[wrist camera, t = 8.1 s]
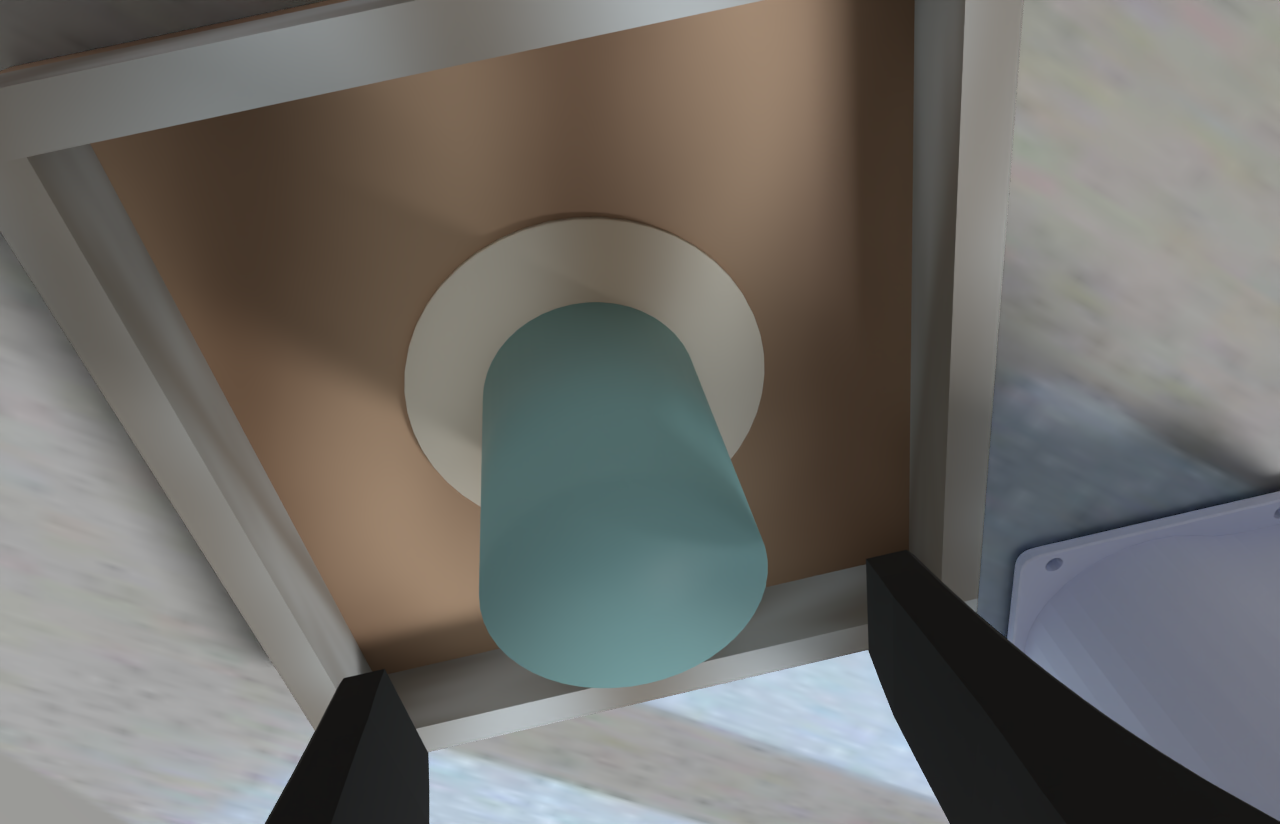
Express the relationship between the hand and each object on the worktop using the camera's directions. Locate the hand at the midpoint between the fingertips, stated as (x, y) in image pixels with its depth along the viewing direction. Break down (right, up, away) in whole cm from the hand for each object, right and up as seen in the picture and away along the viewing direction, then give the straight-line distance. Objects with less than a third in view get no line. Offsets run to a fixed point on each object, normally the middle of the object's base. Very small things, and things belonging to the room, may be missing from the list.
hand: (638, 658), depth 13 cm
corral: (-1, +5, +7) cm, 9 cm away
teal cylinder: (-1, +4, +6) cm, 8 cm away
